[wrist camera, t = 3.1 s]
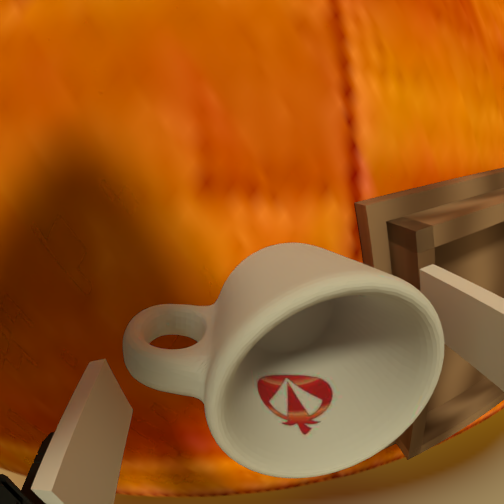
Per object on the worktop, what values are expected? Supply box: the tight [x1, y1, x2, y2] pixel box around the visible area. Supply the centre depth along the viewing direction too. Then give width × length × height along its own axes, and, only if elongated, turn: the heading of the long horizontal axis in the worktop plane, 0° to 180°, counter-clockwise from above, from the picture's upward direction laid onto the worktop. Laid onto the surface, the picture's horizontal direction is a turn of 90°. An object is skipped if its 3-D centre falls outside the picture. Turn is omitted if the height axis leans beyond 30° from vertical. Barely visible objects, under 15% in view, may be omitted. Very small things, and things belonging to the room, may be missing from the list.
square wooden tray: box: [355, 168, 504, 460], centre depth 17 cm, size 20×18×4 cm
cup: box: [123, 243, 444, 478], centre depth 12 cm, size 11×8×8 cm
